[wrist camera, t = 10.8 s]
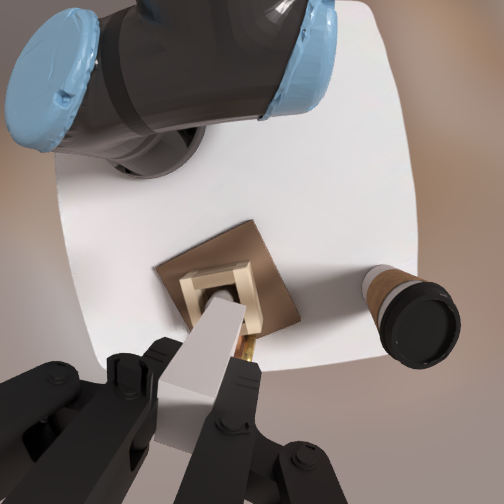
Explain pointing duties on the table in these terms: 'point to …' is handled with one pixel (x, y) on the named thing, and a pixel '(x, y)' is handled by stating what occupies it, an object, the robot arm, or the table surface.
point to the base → (265, 275)
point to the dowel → (249, 347)
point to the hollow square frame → (219, 276)
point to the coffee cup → (411, 316)
